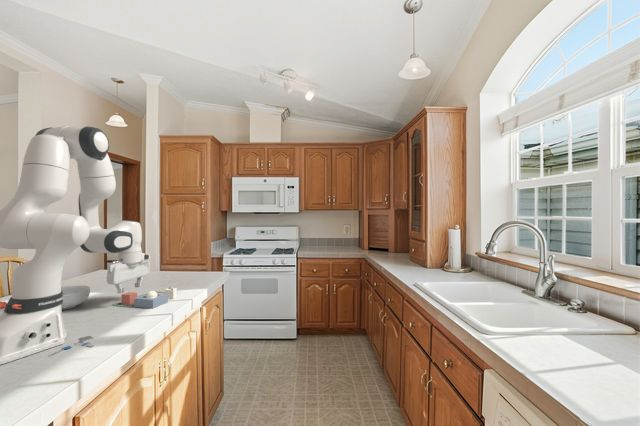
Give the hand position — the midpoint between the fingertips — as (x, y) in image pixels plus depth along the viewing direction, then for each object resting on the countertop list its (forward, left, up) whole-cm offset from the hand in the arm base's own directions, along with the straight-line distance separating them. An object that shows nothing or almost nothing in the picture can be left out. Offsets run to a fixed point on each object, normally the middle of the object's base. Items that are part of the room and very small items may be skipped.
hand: (129, 289), depth 132 cm
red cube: (-1, -1, -6) cm, 6 cm away
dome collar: (+1, -10, -6) cm, 12 cm away
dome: (+1, -10, -5) cm, 11 cm away
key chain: (-38, -19, -7) cm, 43 cm away
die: (+12, -11, -6) cm, 17 cm away
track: (+7, -1, -6) cm, 9 cm away
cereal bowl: (-11, +20, -6) cm, 24 cm away
